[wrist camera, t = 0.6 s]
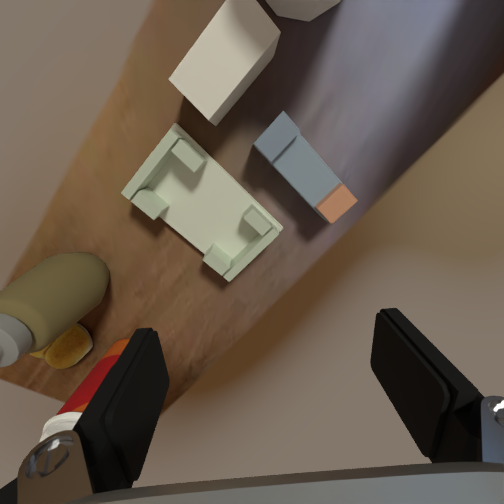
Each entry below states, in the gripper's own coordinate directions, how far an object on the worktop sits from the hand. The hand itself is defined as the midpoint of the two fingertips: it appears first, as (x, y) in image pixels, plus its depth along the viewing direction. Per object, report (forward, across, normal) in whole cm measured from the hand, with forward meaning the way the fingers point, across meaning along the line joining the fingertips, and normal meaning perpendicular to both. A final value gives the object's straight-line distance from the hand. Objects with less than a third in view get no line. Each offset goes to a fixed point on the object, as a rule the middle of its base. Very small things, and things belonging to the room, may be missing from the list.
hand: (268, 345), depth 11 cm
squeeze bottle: (+23, +23, +6) cm, 33 cm away
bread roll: (+24, +30, +16) cm, 41 cm away
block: (+23, +1, -16) cm, 28 cm away
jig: (+23, +5, -2) cm, 24 cm away
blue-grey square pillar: (+23, -6, -6) cm, 25 cm away
